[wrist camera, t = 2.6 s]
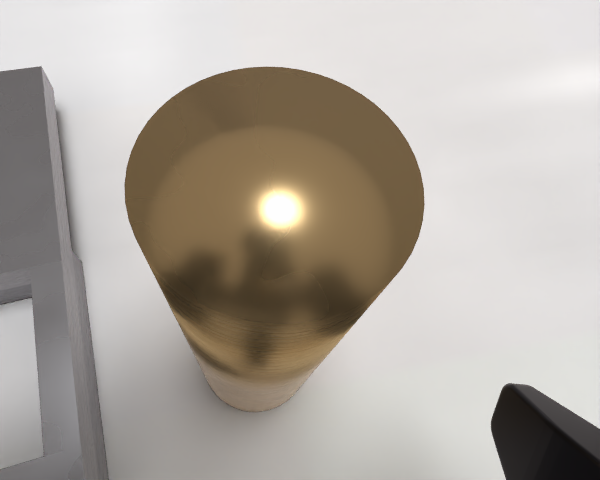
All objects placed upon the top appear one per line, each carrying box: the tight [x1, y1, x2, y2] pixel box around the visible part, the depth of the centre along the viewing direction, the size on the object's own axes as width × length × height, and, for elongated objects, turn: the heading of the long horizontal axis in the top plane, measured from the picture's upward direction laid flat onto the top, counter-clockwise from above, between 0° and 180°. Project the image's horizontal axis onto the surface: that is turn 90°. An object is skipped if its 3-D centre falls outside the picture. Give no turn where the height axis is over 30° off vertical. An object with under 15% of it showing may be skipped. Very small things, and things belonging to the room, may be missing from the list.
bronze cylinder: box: [125, 67, 424, 412], centre depth 12 cm, size 4×4×12 cm
